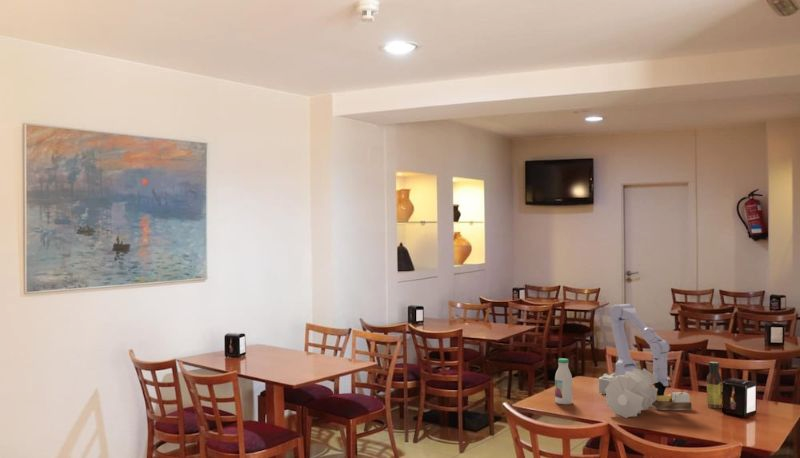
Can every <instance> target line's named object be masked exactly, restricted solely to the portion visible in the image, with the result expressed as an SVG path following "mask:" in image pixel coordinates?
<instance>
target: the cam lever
mask: <svg viewBox="0 0 800 458" xmlns="http://www.w3.org/2000/svg"><path fill="white" fill-rule="evenodd" d="M656 398H657V400H656V401H672V394H669V393H668V394H664V395H657V394H656Z"/></svg>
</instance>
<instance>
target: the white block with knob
mask: <svg viewBox="0 0 800 458" xmlns="http://www.w3.org/2000/svg"><path fill="white" fill-rule="evenodd" d="M671 395H672V400H673V401H674V402H675V403H691V402H690V401H691V399H690V394H689V393H688V392H687V391H686V392H685V391H683V392H681V391H672V392H671Z"/></svg>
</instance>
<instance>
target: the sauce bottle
mask: <svg viewBox="0 0 800 458" xmlns="http://www.w3.org/2000/svg"><path fill="white" fill-rule="evenodd" d="M708 366H709V367H708V368H709V370H708V372H709V373H708V374H707V376H706V400H707V401H706V402H707V407H708V408H710V409H722V408H723V404H722V392H723V379H722V377H721V375H720V369H719V366H720V363H719V362H718V361H709V362H708Z"/></svg>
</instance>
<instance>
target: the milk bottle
mask: <svg viewBox="0 0 800 458" xmlns="http://www.w3.org/2000/svg"><path fill="white" fill-rule="evenodd" d="M557 361H558V363H557V364H558V368H557V370H556V372H555V376H554V402H555V403H556V404H558V405H559V404H560V405H571V404H572V403H573V377H572V373H571V371H570V368H569V362H570V361H569V358H563V357H559V358H558V360H557Z"/></svg>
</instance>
